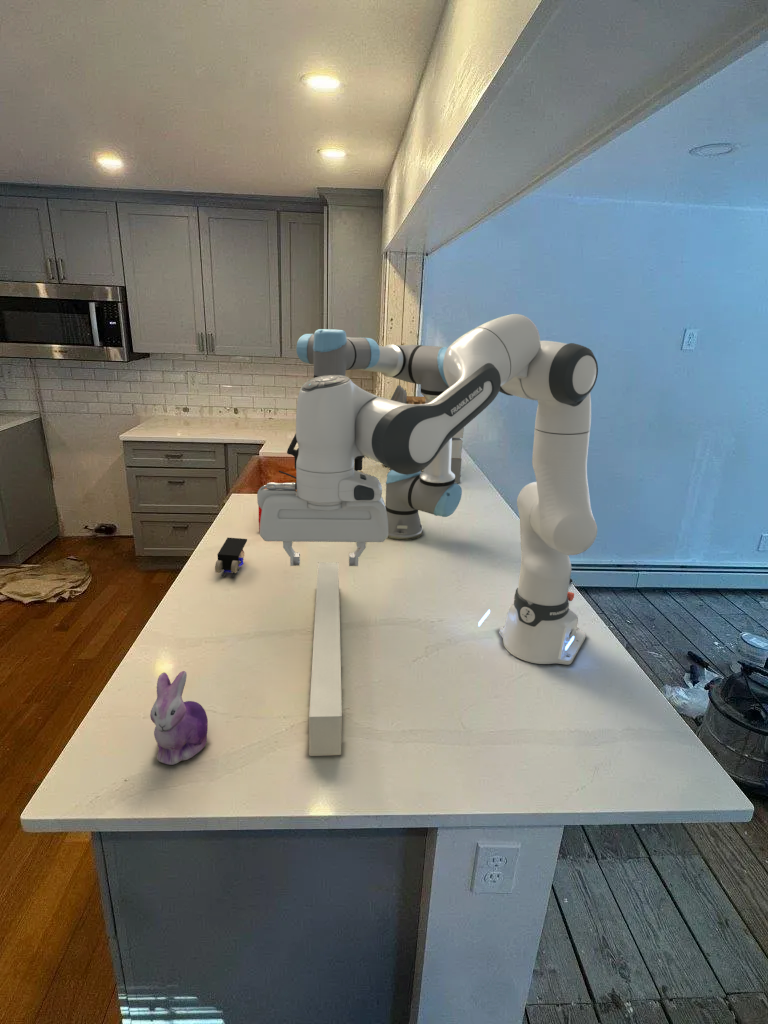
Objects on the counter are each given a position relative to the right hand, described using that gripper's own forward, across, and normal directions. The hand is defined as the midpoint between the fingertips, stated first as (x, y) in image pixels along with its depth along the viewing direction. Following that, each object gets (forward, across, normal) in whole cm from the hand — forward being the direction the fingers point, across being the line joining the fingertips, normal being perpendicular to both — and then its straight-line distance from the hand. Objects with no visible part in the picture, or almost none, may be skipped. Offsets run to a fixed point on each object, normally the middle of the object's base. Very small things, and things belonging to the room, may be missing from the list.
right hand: (324, 564), depth 92 cm
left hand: (+2, 0, +53) cm, 53 cm away
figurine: (+35, -25, -2) cm, 43 cm away
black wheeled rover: (+35, -28, +70) cm, 83 cm away
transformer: (+35, +43, +178) cm, 187 cm away
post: (+35, 0, +27) cm, 44 cm away
